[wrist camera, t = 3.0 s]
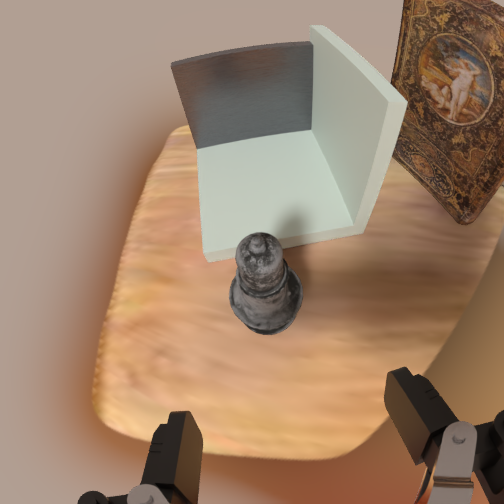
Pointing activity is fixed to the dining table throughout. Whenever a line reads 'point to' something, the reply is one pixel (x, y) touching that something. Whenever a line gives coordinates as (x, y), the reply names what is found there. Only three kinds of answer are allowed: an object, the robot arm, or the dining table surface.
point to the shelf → (287, 140)
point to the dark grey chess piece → (264, 285)
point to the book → (452, 100)
